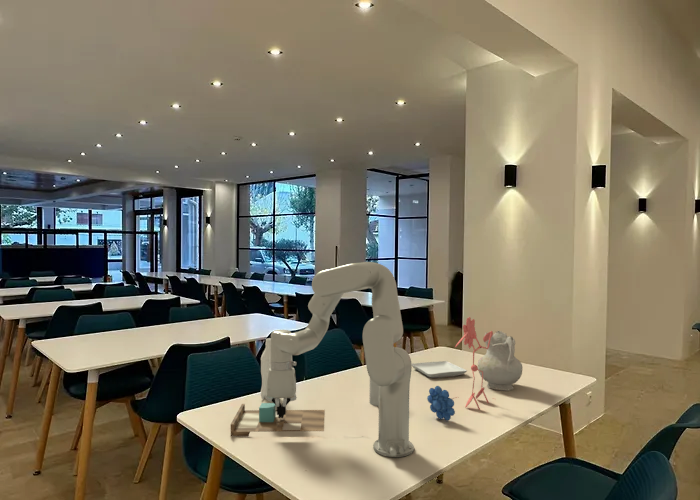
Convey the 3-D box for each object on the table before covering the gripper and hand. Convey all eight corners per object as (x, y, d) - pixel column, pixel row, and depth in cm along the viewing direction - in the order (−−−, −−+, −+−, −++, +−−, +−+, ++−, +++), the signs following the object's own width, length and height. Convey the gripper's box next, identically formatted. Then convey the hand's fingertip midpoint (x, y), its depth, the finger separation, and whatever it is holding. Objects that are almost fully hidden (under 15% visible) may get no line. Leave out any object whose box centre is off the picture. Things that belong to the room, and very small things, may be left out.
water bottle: (256, 400, 192) (257, 339, 192) (267, 395, 198) (268, 336, 198) (271, 403, 189) (271, 341, 188) (281, 398, 195) (282, 338, 195)
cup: (388, 406, 186) (388, 376, 185) (367, 405, 187) (368, 375, 187) (390, 400, 194) (390, 371, 193) (371, 398, 195) (371, 370, 195)
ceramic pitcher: (534, 395, 205) (538, 337, 205) (498, 396, 198) (502, 337, 198) (501, 381, 225) (505, 329, 225) (467, 382, 218) (471, 328, 218)
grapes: (420, 418, 174) (420, 385, 174) (431, 413, 179) (431, 381, 178) (447, 426, 166) (448, 392, 166) (458, 421, 170) (458, 388, 170)
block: (273, 422, 165) (273, 407, 165) (259, 422, 165) (259, 407, 165) (275, 416, 170) (275, 403, 170) (261, 416, 170) (261, 403, 170)
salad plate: (409, 369, 243) (410, 362, 243) (446, 366, 249) (446, 360, 249) (428, 381, 222) (428, 373, 222) (468, 377, 229) (468, 370, 229)
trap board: (323, 435, 158) (323, 423, 157) (230, 436, 156) (230, 424, 156) (324, 413, 177) (324, 403, 177) (242, 414, 176) (242, 403, 176)
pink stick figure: (498, 398, 196) (497, 314, 196) (473, 416, 176) (471, 322, 176) (464, 392, 206) (463, 312, 206) (436, 408, 185) (435, 319, 185)
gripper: (303, 362, 171) (303, 412, 171) (261, 362, 170) (261, 413, 170) (301, 367, 163) (301, 420, 163) (258, 368, 163) (258, 420, 163)
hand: (281, 416), depth 167 cm, fingers closed
